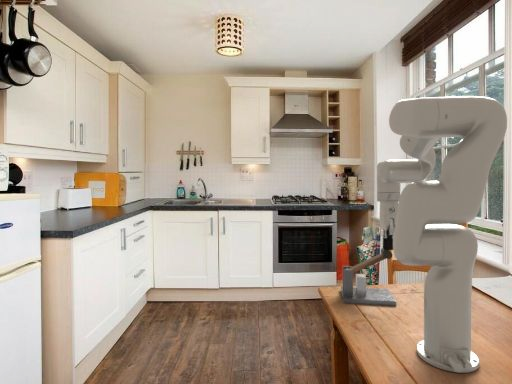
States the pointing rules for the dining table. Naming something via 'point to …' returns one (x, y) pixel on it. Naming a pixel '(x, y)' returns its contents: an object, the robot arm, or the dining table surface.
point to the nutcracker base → (370, 292)
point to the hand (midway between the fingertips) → (388, 249)
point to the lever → (372, 260)
